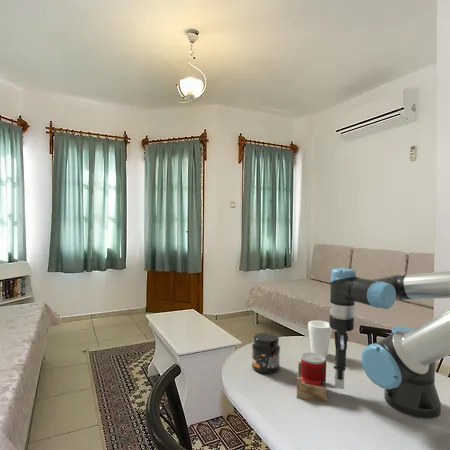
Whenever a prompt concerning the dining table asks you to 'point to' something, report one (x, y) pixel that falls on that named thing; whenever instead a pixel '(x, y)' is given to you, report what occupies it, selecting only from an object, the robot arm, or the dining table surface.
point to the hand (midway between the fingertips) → (339, 387)
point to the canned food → (313, 369)
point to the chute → (309, 389)
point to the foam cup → (319, 337)
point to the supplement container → (265, 353)
